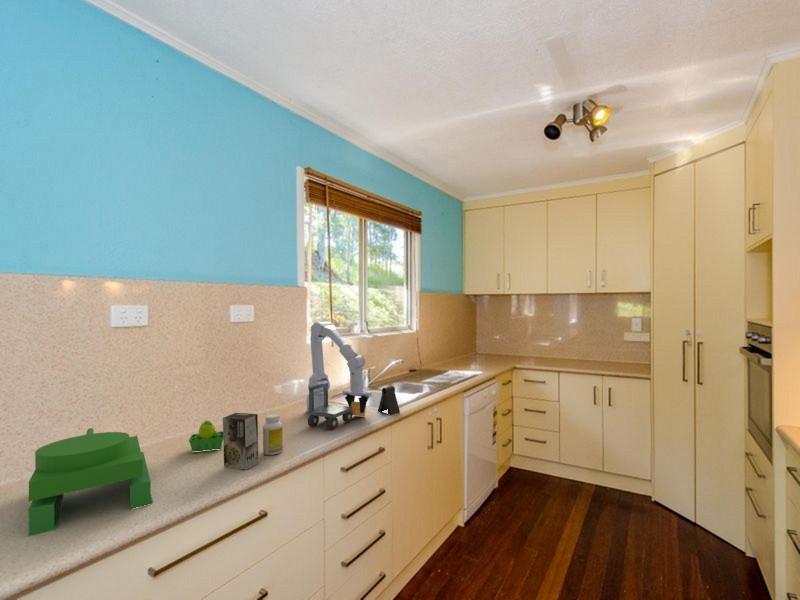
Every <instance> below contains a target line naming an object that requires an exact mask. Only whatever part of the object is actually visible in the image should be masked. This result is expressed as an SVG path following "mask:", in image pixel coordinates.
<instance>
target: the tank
mask: <svg viewBox="0 0 800 600" xmlns="http://www.w3.org/2000/svg"><path fill="white" fill-rule="evenodd" d="M94 432H95V429H94V428H93V427H92V428H91V427H90V428H88V429H87V430H86V434H83V435H77V436H72V437H68V438H64V439H61V440H57V441H53V442H50V443H48V444H45V445H42V446H41V447H39V448H37V449H36V450H35V453H34V456H35V457H34V460H35V463H34V464H35V466H34V469H35V470H34V472H33V473H32V475H31V477H30V479H29V481H28V502H31V503H30V505H29V508H28V537H31V536H35V535H40V534H42V533H43V534H45V533H48V532H51V531H54V530H55V529H57V528H58V527H59V521H60V516H61V512H62V507H63V502H62V501H64V497H63V496H65V494H69V493H75V492H78V491H82V490H83V491H84V490H88V489H92V488H96V487H99V486H100V487H101V486H106V485H108V484H110V485H111V484H115V483H119V482H123V481H129V482H128V488H129V487H130V488H129V493H130V494H129V499H130V500H129V501H130V504H129V505H130V506H129V507H130V509H129V510H131V509H133V508H136V507H140V506H144V505H148V504H153V503H154V502H153V501H154V500H153V497H152V493H151V478H150V474H149V469H148V466H147V462H146V457H145V453H144V451H142V450H141V447H140V443H139V438H138V435H134V436H130V435H129V433H127V432H122V431H107V432H106V431H105V432H96V433H94ZM152 502H153V503H152ZM61 506H62V507H61ZM148 506H149V505H148ZM144 507H145V506H144ZM140 508H141V507H140ZM136 509H137V508H136ZM133 510H134V509H133Z"/></svg>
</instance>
